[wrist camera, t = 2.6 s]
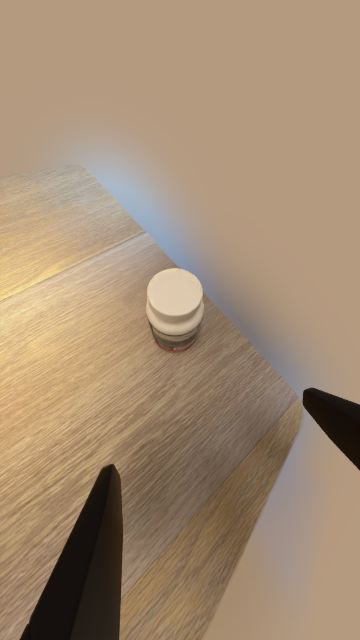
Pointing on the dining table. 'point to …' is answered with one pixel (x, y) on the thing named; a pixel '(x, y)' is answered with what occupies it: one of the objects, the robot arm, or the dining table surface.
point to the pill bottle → (174, 308)
